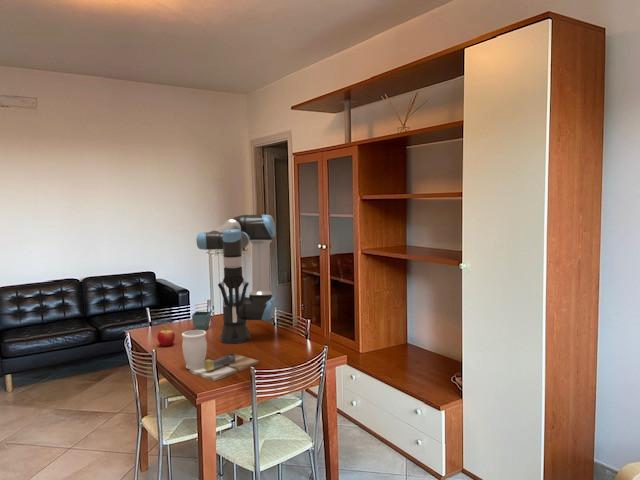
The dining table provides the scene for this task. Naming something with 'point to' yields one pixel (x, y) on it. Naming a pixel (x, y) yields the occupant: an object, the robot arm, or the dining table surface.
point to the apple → (166, 337)
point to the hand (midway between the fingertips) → (234, 321)
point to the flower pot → (201, 320)
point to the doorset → (225, 368)
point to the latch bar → (218, 362)
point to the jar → (194, 348)
